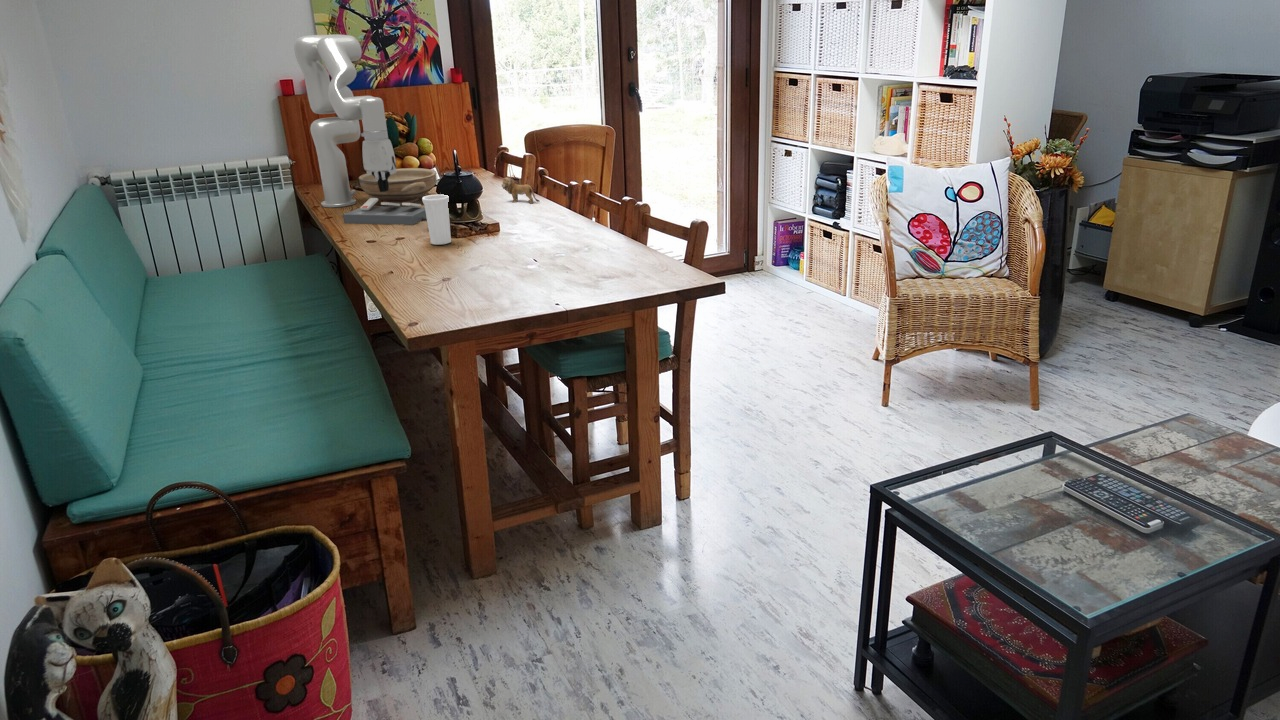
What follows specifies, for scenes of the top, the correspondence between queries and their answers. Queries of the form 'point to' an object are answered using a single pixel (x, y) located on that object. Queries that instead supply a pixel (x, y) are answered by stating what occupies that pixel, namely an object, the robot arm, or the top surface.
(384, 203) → the middle rocker
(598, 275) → the top surface
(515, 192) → the lion figurine
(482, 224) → the top surface
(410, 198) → the ceramic bowl
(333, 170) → the robot arm
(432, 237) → the cup
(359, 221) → the grey switch panel
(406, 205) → the block
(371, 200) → the far-end rocker
